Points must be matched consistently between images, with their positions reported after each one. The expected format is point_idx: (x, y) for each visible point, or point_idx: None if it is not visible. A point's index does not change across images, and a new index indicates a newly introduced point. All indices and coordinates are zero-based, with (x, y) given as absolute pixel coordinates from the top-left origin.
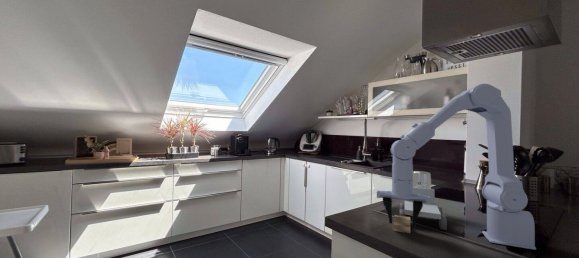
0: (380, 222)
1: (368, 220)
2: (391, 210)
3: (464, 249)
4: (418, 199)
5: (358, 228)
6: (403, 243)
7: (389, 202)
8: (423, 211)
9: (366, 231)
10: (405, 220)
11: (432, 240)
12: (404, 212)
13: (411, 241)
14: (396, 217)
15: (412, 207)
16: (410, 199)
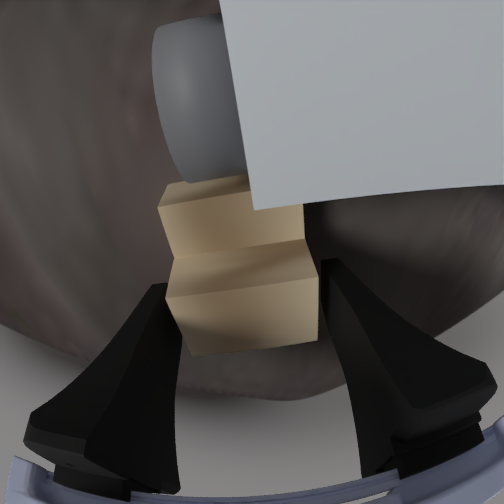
0: (70, 196)
1: (12, 213)
2: (149, 369)
3: (475, 299)
4: (438, 481)
5: (66, 341)
6: (274, 376)
7: (168, 492)
8: (481, 159)
9: None
10: (279, 341)
11: (398, 293)
12: (243, 157)
13: (304, 350)
14: (206, 341)
15: (362, 2)
16: (359, 498)
